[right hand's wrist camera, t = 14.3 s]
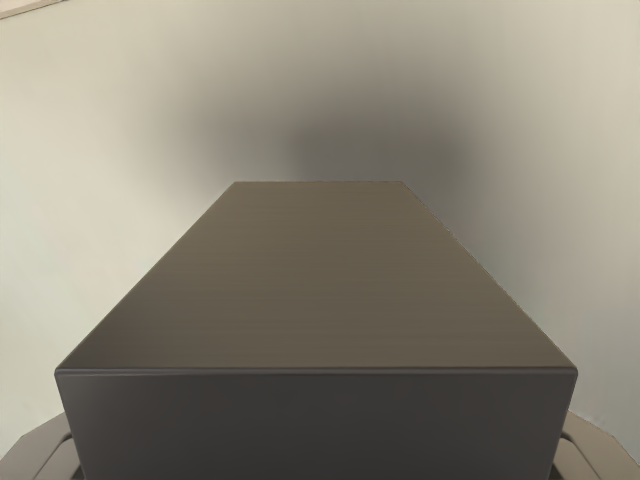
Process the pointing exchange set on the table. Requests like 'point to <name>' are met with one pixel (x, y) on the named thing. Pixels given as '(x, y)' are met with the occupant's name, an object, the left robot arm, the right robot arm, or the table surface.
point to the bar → (316, 352)
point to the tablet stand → (21, 6)
